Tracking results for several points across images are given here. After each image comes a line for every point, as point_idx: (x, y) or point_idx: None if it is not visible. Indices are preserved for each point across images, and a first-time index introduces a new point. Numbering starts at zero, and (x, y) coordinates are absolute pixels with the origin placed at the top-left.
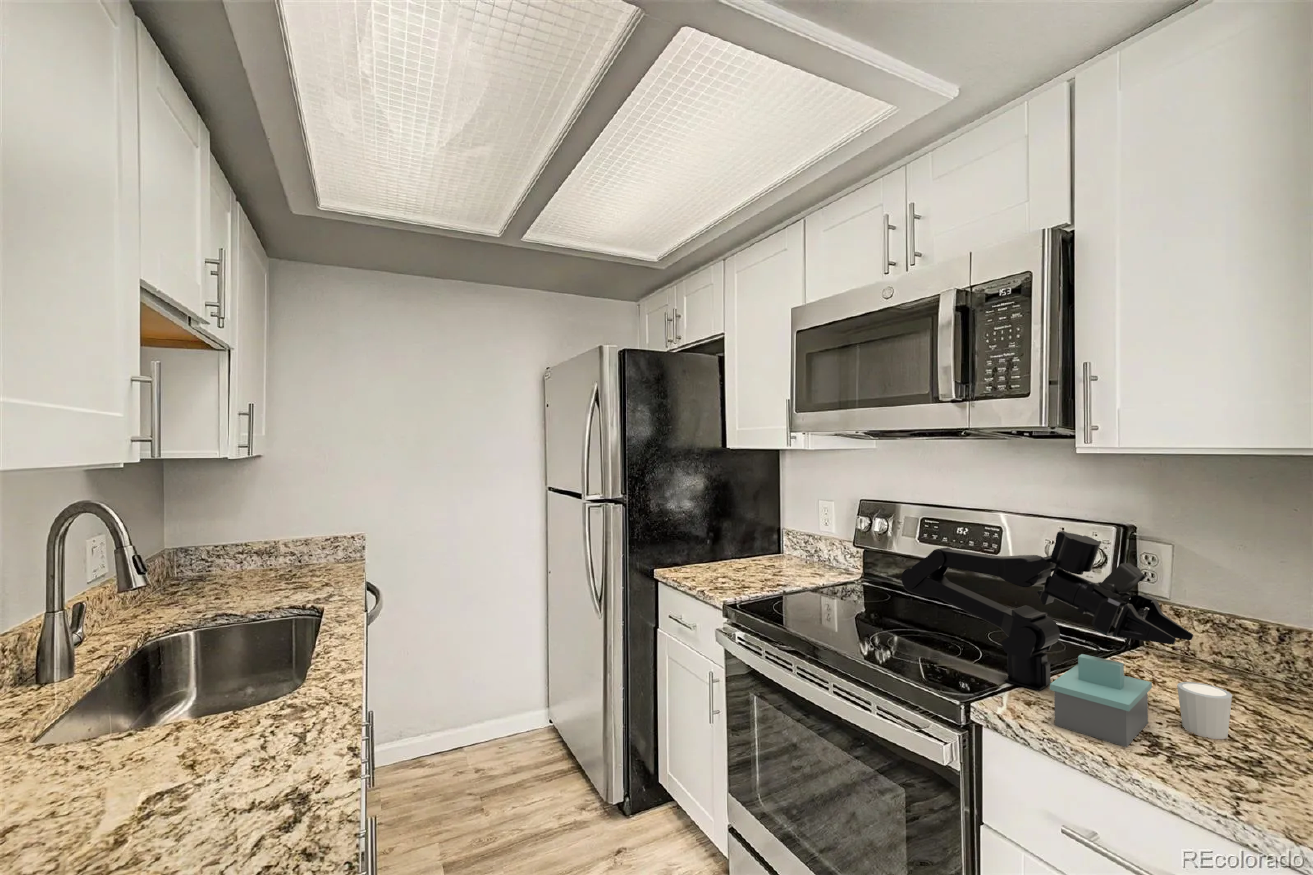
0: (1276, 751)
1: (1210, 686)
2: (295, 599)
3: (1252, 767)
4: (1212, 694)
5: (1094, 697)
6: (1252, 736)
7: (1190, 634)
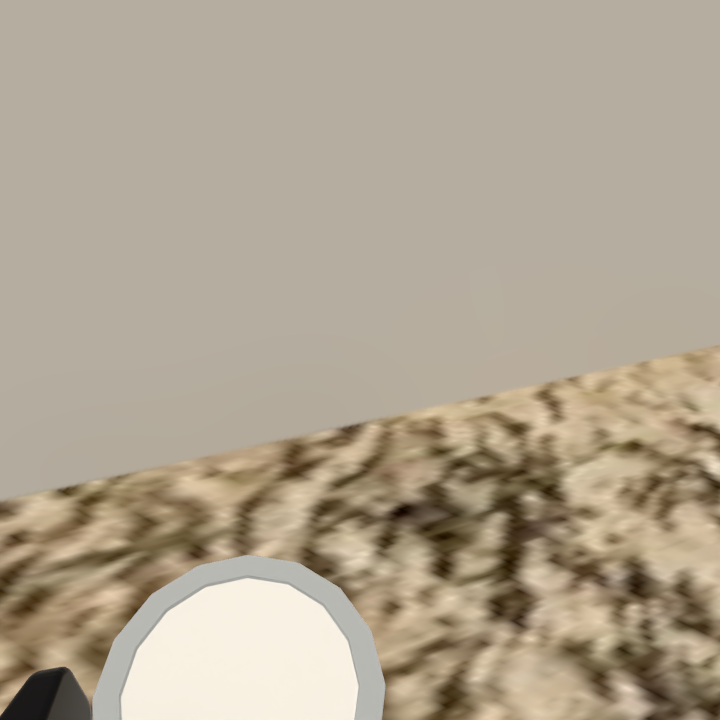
0: (240, 512)
1: (122, 699)
2: None
3: (476, 508)
4: (288, 627)
5: None
6: None
7: (62, 689)
